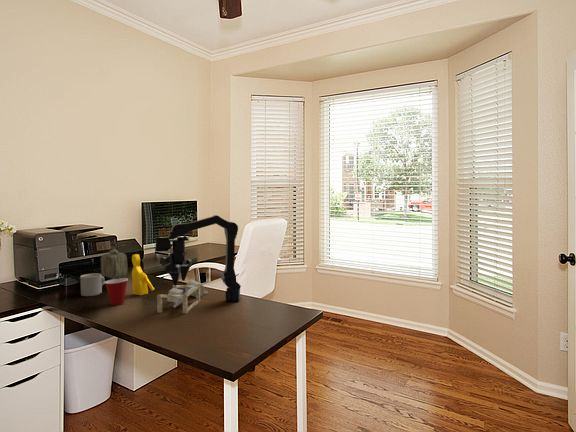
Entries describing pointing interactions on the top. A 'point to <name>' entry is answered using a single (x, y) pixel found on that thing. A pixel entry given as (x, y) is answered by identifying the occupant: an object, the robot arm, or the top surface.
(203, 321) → the top surface
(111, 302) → the plastic cup
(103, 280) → the coffee mug
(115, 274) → the tabletop clock
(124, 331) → the top surface
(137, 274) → the figure statuette
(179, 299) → the flap
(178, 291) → the steel cube
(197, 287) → the birch frame
